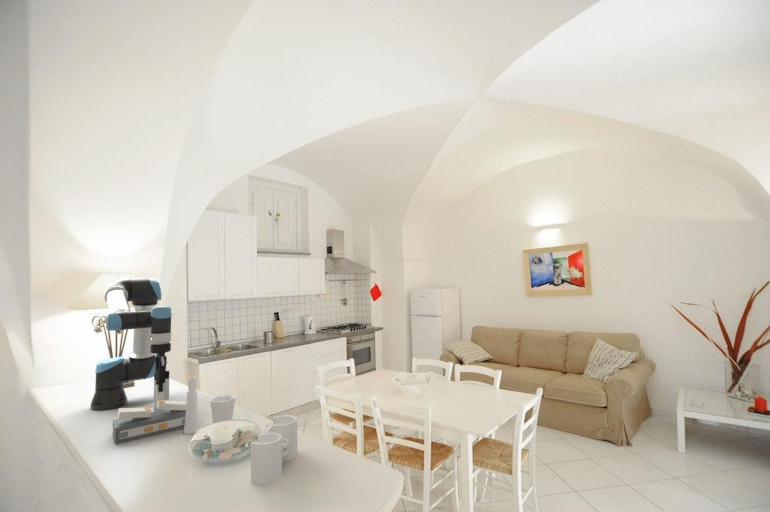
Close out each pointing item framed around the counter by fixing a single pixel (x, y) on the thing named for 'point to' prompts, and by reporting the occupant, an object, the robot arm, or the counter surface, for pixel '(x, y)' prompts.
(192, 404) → the cosmetic bottle
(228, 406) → the foam cup
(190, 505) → the counter surface
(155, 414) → the switch unit
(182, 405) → the plate
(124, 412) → the rocker
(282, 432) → the pair of white mugs
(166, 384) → the travel mug
